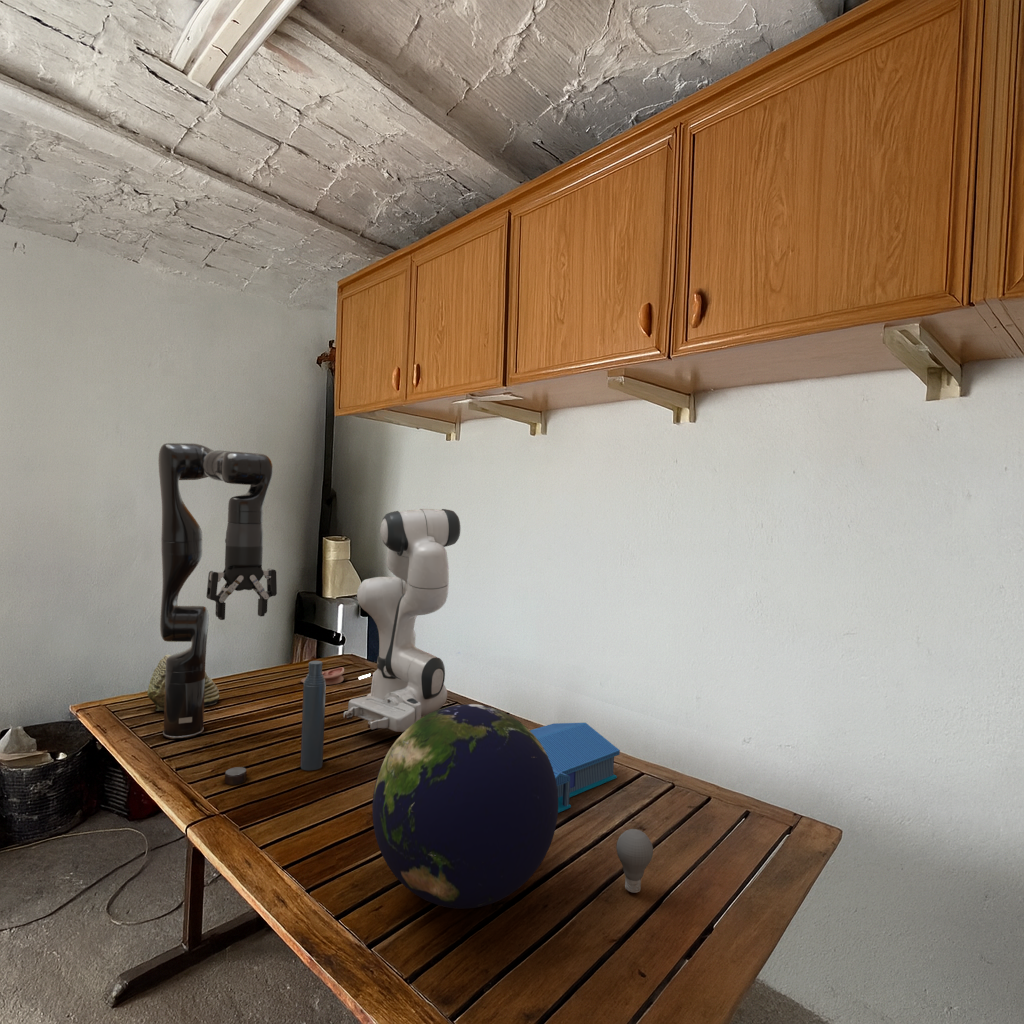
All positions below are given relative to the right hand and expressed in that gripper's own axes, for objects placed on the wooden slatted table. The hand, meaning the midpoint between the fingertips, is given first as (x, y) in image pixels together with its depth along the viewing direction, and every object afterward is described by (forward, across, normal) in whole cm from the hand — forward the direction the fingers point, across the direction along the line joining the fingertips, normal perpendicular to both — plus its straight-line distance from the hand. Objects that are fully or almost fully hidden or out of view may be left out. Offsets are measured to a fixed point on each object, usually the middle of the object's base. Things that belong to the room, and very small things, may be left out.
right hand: (357, 720), depth 159 cm
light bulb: (+7, +80, +6) cm, 80 cm away
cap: (+29, -5, +5) cm, 30 cm away
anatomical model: (-30, -54, +8) cm, 62 cm away
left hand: (+29, -6, -29) cm, 41 cm away
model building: (-13, +45, +7) cm, 47 cm away
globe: (+26, +59, +7) cm, 64 cm away
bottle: (+13, 0, +7) cm, 15 cm away
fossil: (+14, -61, +8) cm, 63 cm away
